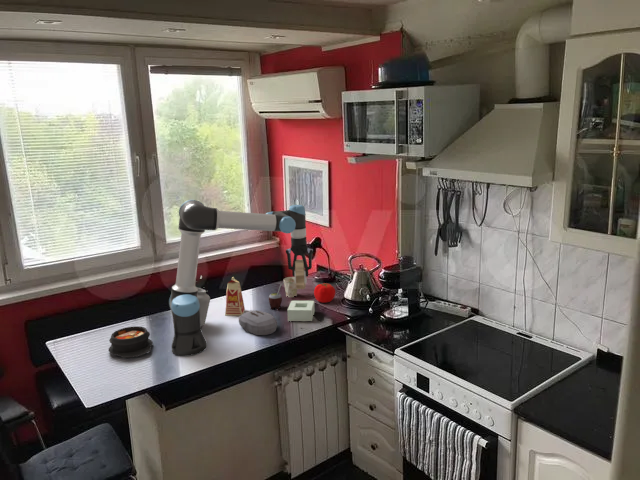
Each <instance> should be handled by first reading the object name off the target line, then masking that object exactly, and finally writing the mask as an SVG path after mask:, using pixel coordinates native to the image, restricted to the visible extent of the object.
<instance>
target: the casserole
mask: <svg viewBox="0 0 640 480" xmlns="http://www.w3.org/2000/svg"><path fill="white" fill-rule="evenodd" d="M150 335H151V334H150V331H149V330H148V329H147V328H146V327H144V326H138V325H137V326H128V327H122V328H119V329H117V330H115V331H114V332H112V333H111V336H110V338H109V339H108V340H109V343H110V344H111V345H110V346H109V348H108V352H109V354H111V355H115V356H118V357H121V358H124V359H130V358H131V359H133V358H137V357H140V356H143V355H146V354H148V353H149V352H151V351H152V347H153V345H154V342H153V341H152V340H151V338H149V337H150Z"/></svg>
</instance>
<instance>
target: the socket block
mask: <svg viewBox="0 0 640 480" xmlns="http://www.w3.org/2000/svg"><path fill="white" fill-rule="evenodd" d="M315 308H316V307H315V300H290V303H289V306H288V307H287V310H286V311H287V322H289V321H290V322H291V321H312V322H313V320H314V319H313V318H314V316H313V315H315V311H316V310H315Z"/></svg>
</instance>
